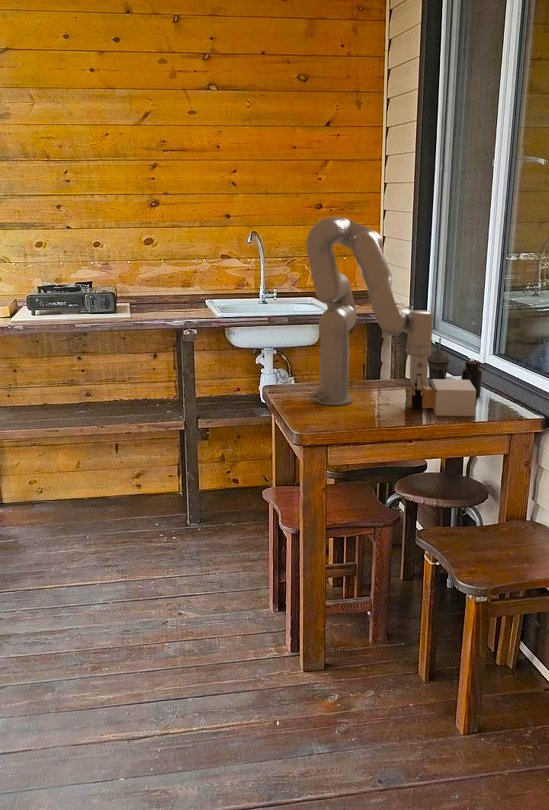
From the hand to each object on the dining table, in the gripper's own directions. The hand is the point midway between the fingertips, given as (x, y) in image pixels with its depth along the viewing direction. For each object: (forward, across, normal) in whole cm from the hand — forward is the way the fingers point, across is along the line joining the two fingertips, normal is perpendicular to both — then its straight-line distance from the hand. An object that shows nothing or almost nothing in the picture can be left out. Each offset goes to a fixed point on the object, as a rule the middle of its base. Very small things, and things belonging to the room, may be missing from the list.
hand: (416, 404), depth 243 cm
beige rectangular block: (+1, 0, -12) cm, 12 cm away
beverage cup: (+1, +20, -9) cm, 22 cm away
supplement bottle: (+2, +18, -20) cm, 27 cm away
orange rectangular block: (0, 0, -4) cm, 4 cm away
